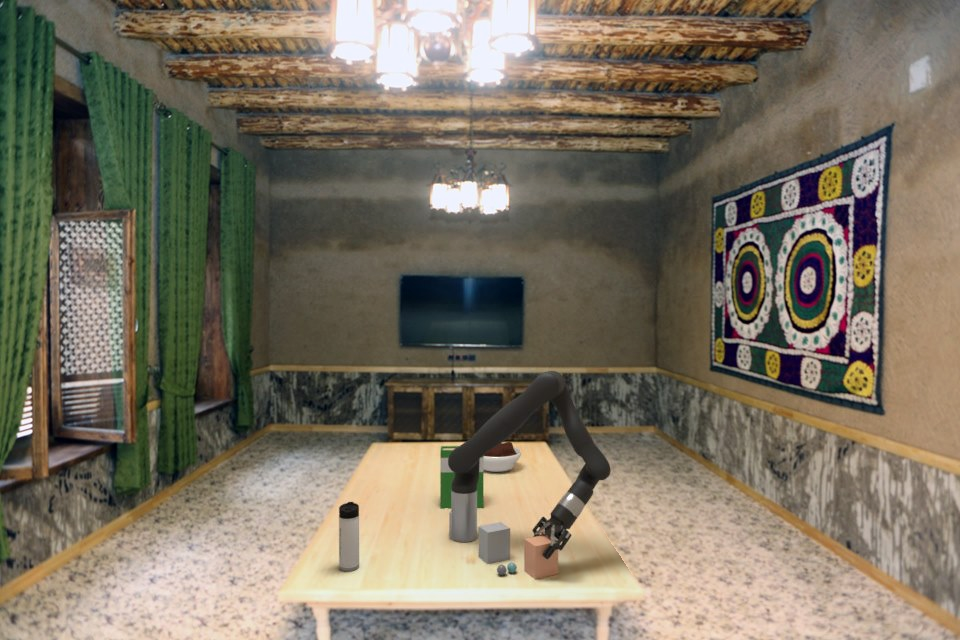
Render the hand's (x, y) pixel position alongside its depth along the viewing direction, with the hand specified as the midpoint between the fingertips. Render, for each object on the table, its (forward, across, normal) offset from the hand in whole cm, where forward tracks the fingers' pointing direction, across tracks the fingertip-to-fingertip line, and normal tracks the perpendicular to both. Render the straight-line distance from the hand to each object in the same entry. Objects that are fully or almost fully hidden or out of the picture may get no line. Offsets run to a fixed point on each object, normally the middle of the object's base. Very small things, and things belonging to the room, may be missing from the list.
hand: (537, 552), depth 186 cm
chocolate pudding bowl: (-27, -108, +37) cm, 117 cm away
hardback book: (0, -67, +9) cm, 68 cm away
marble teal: (+9, -4, 0) cm, 10 cm away
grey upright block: (+9, -16, 0) cm, 19 cm away
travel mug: (+41, -31, -31) cm, 60 cm away
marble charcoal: (+12, -4, -3) cm, 13 cm away
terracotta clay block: (+4, 0, +6) cm, 7 cm away
